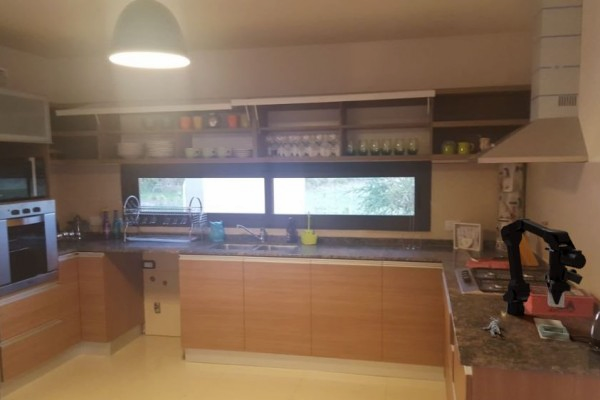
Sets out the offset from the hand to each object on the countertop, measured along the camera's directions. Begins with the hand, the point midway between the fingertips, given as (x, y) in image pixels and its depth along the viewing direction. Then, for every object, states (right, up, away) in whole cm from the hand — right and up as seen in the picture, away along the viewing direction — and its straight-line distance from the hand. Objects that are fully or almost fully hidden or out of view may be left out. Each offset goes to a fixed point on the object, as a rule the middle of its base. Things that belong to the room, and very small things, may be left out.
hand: (555, 302), depth 177 cm
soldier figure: (-23, -12, +3) cm, 26 cm away
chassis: (0, -12, +4) cm, 13 cm away
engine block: (0, -1, 0) cm, 1 cm away
